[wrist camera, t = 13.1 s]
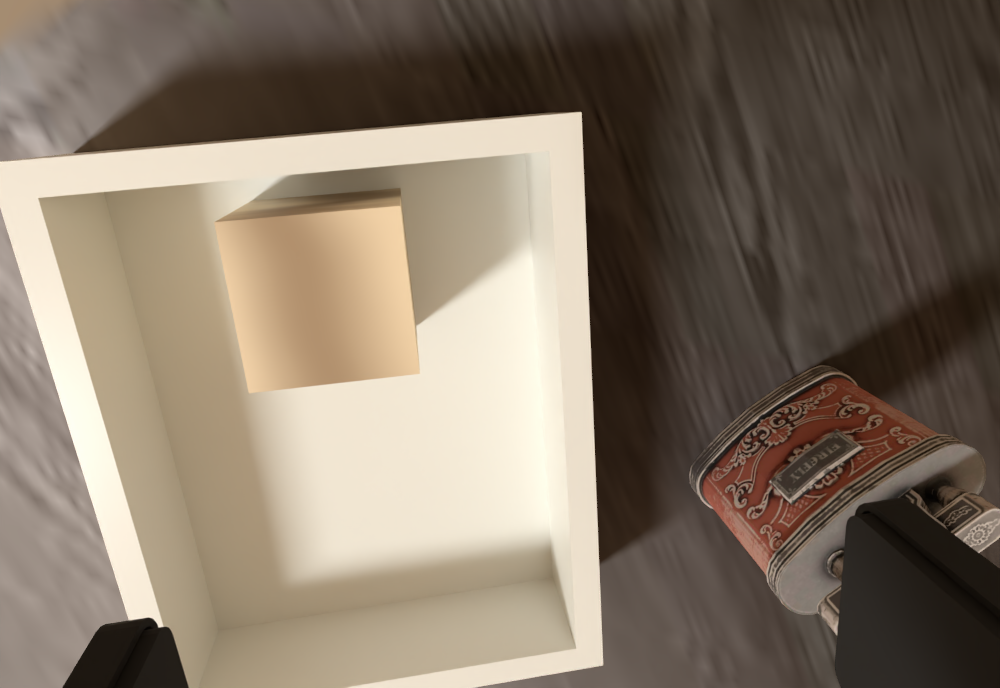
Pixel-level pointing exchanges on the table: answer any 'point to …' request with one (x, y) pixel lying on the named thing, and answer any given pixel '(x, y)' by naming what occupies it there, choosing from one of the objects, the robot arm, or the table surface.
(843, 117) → the table surface
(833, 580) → the lighter
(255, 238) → the cube
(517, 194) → the tote
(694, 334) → the table surface
